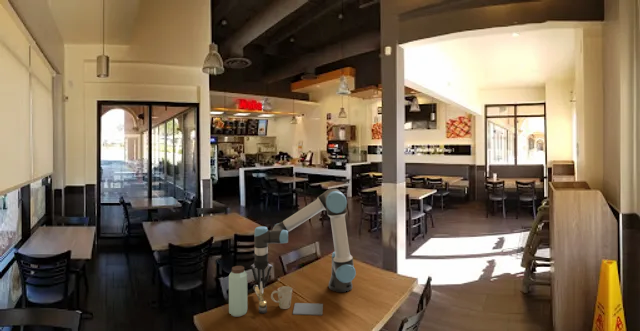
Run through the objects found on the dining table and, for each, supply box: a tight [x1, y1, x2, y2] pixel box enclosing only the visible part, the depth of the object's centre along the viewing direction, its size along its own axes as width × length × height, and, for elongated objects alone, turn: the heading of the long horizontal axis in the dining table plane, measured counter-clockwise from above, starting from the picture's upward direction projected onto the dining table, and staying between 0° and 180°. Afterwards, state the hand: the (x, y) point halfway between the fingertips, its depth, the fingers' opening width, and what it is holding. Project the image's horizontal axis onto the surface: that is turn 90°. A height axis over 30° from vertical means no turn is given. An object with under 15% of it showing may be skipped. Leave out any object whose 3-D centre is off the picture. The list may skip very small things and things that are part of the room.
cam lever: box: [252, 284, 268, 308], centre depth 199 cm, size 4×26×3 cm, turn 20°
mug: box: [270, 285, 293, 310], centre depth 196 cm, size 8×13×10 cm, turn 78°
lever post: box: [258, 306, 268, 315], centre depth 189 cm, size 4×4×3 cm
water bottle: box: [228, 265, 248, 318], centre depth 187 cm, size 10×10×25 cm
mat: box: [292, 302, 324, 316], centre depth 193 cm, size 16×12×1 cm
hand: (261, 293), depth 203 cm, fingers closed
